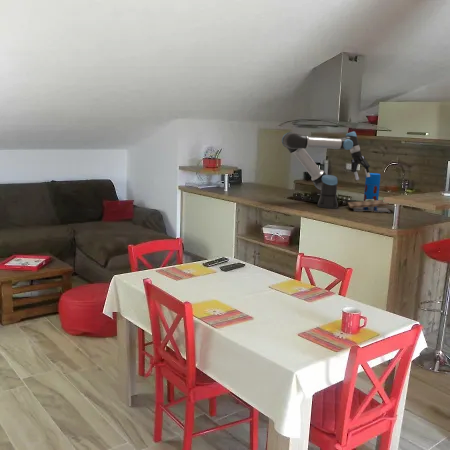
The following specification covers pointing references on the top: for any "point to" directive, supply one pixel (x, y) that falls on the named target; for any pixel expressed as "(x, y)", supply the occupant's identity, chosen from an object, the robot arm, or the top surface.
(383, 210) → the tribrach base
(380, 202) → the levelling board
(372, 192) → the blue tall block
